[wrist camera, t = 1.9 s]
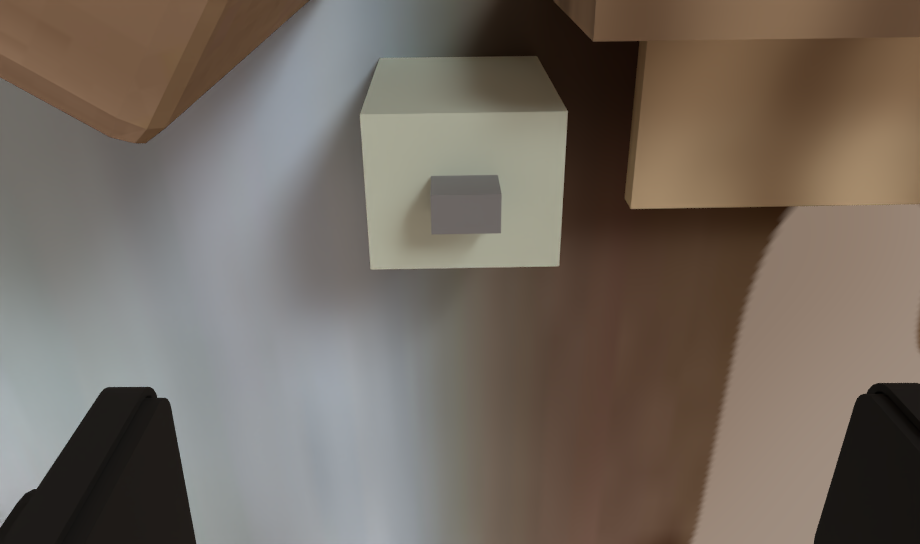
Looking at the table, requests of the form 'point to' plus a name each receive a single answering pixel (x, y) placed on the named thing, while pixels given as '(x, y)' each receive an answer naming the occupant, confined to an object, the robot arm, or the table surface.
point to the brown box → (768, 100)
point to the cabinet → (463, 163)
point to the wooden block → (130, 54)
